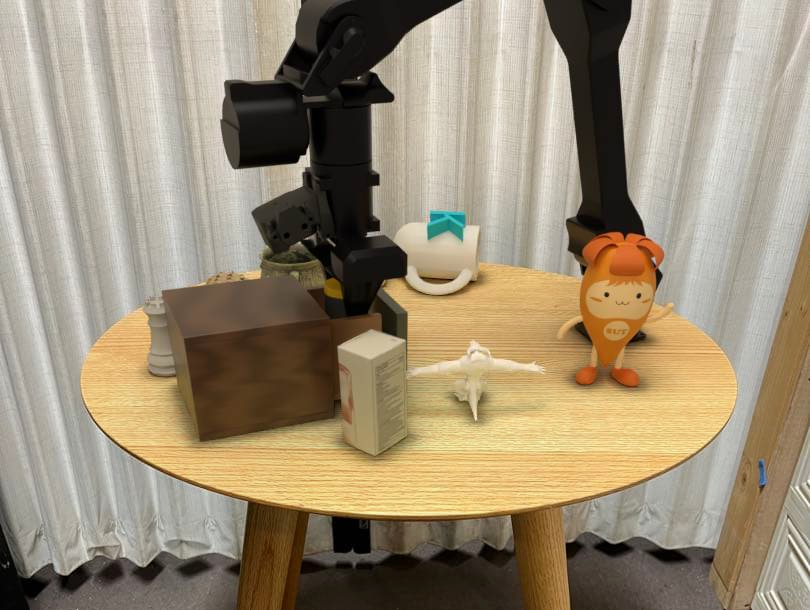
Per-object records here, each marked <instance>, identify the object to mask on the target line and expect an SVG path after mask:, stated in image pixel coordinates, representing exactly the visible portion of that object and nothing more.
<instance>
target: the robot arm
mask: <svg viewBox="0 0 810 610" xmlns="http://www.w3.org/2000/svg"><path fill="white" fill-rule="evenodd" d="M463 1H464V0H306V1H305V2H304V3H303V4H301V6H300V7H299V9H298V13H297V14H298V15H297V18H296V21H295V25H294V26H295V27H294V29H295V32H294V33H295V34H294V39H293V40H292V42H291V45H290V46H289V48H288V50H287V52H286V53H285V55H284V57H283V59H282V61H281V62H280V64H279V66H278V68H277V70H276V72H275V74H274V76H273V79H265V80H264V79H263V80H243V79H237V78H236V79H226V80H224V81H223V90H224V98H223V100H222V106H221V118H220V119H219V124H220V131H221V138H222V144H223V147H224V152H225V155H226V157H227V161H228V163H229V165H230V167H231V168H232V170H235V171H236V170H246V169H255V168H266V167H275V166H277V167H278V166H285V165H287V166H288V165H296V164H298V163H299V161H300V159H301V157H303V156H307V154H308V153H307V152H308V149H309V163H310V166H305V167H304V171H302V173H301V177H302V178H301V179H302V185H301V186H299V187H297V188H295V189H293V190H289V191H287V192H285V193H282V194H281V195H278V196H277V197H274V198H272V199H270V200H269V201H266V202H264V203H263V204H261V205H259V206H257V207H255V208H253V210H252V211H251V213H250V214H251V216H252V219H253V221H254V223H255V225H256V227H257V229H258V232H259V234H260V236H261V238H262V241H263V242H264V245H265V246H267V248H270V249H271V251H272V253H274V254H280V253H283V252H285V251H287V250H289V248H290V247H291V246H292V245H294V244H296V243H301V244H302V245H303V246H304V247H305V248H306V249H307V250H308V251H309V252H310V253H311V254H312V255H313V256H314V257H315V258H317V259H318V261H319V263H320V266H321V270H322V273H323V276H324V279H325V281H327V280H328V279H331V278H335V279H336V280H337V281H338V282H340V286H341V292H342V297H343V302H344V308H345V313H346V317H352V316H359V315H366V314H368V312H369V309H370V307H371V305H372V303H373V301H374V299H375V297H376V295H377V293H378V291H379V289H380V287H381V288H382V287H383V286H382V284H383V282H384V280H386V281H390V280H396V279H403V278H405V276H407V270H408V255H407V254H406V253H405V252H404V251H403V250H402V249H401V248H400V247H399V246H398V245H397V244H396V243H394V242H393V241H394V240H393V239H391V238H390V237H388V236H387V235H386V234H381V235H371V236H368V233H376V232H381V220H380V219H379V218H378V217H377V216H375V215H374V187H380V186H381V177H380V176H381V174H380V173H379V172H378V171H376V170H374V169H373V113H372V111H373V108H372V107H373V105H380V104H381V105H382V104H391V103H394V101H395V98H396V97H395V94H394V93H393V92H392V91H390V89H389V88H387V86H386V85H385V84H384V83H383V81H382V80H381V78H380V77H379V75H378V73H377V72H374V71H371V70H372V69H374V68H375V67H376V66H377V65H379V64H380V63H381V62H382V61H383V60H385V59H386V58H387V57H388V56H389V55H391V54H392V53H393V52H394V51H395V50H396V48H397V47H398V45H399V44H400V43H401V42H402V40H403V39H404V38H405V36H406V35H407V34H409V33H410V32H411V31H413V29H414V28H416V27H417V26H419V25H421V24H423V23H424V22H426V21H429V19H431V18H433V17H435V16H437V15H439V14H441V13H443V12H444V11H447V10H448V9H450V8H452V7H454V6H456V5H457V4H459V3H461V2H463ZM542 1H543V5H544V9H545V13H546V16H547V20H548V24H549V27H550V30H551V32H552V34H553V36H554V38H555V40H556V41H557V43H558V45H559V47H560V49H561V51H562V52H563V54H564V57H565V59H566V62H567V68H568V77H569V86H570V93H571V95H570V96H571V102H572V103H571V104H572V112H573V122H574V132H575V141H576V143H575V144H576V150H577V151H576V152H577V161H578V169H579V171H578V172H579V179H580V188H581V202H580V205H579V207H578V210H577V212H576V215H574V216H571V217H567V218H566V220H565V228H566V231H567V235H568V244H567V252H569V253H571V254H572V255H573V257H574V260H575V261H576V262H578V263H579V269H580V274H581V275H580V276H582V277H583V276H584V273H585V271H586V269H587V267H588V265H589V264H588V263H587V262H586V260H585V259H584V257H583V254H582V253H583V249H584V247H585V246H586V245H587V244H588V243H589V242H590V241H591V240H592V239H593V238H595V237H597V236H599V235H602V234H606V233H611V232H620V233H622V235H623V237H624V241H625V239H626V237H627V235H628V234H637V235H641V236H644V237H647V234H646V230H645V225H644V221H643V219H642V218H641V215H640V214H639V211H638V210H637V208H636V206H635V204H634V203H633V201H632V199H631V197H630V194H629V190H628V174H627V172H628V171H627V160H626V156H627V155H626V143H625V142H626V141H625V130H624V115H623V100H622V99H623V98H622V84H621V71H620V47H621V45H622V42H623V40H624V38H625V35H626V31H627V30H628V27H629V24H630V22H631V18H632V10H633V0H542ZM357 78H358V79H357ZM354 79H355V80H354ZM356 79H357V80H356ZM345 80H351V81H345ZM652 261H653V265H654V268H655V267H656V262H654V260H653V259H652ZM655 275H656V291H657V290H658V288H659V286H660V284H661V282H662V280H663V277H664V274H663V272H662V271H661V269H660V268H659V267H658V268H657V269H656V270H655ZM573 327H574V328H575V329H576V330H577V331H579V332H581V333H582V334H583V335H585V336H586V337H587V338H589V339H590V340H591V338H590V336H589V334H588V332H587V330H586V328H585V325H584V323H583V321H582V322H579V323H577V324H575V325H574V326H573ZM646 338H647V333H645V332H643V331H642V330H641V329H640V330H639V331H638V332H637V333H636V334H635V335H634V337H633V338H632V339H631V340H630V341H629V342H635V341H641V340H645V339H646Z"/></svg>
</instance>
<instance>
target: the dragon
mask: <svg viewBox="0 0 810 610" xmlns="http://www.w3.org/2000/svg"><path fill="white" fill-rule="evenodd" d="M408 366H409V368H410V369H407V371H406V373H407V374H406V376H407V377H406V380H407V381H408V380H409V379H411V378H418V377H422V376H433V375H434V376H436V375H439V376H446V375H452V374H459V373H463V374H464V378H461V379H458V380H456V381H455V382H454V383H453V384H452V388H453V389H454V390H455V391H456V392H454V396H456V397H457V398H458V401H459V402H463V401H466V402H468V404H469V406H470V408H471V411H472V414H473V418H474V420H475V421H478V402H479V401H481V395H482V393H483V392H484V389H486V388H487V385H488V382H487V381H486V380H485V379H483V378H482V375H484V374H487V373H488V372H490V373H491V372H493V373H506V374H507V373H517V372H518V373H519V372H525V373H531V374H539V375H542V376H545V377H546V376H547V374H546V373H547V372H548V370H546V367H545V366H543V365H538V364H537V361H532V362H531V363H521V362H517V361H513V360H509V359H504V358H494V357H493V356H491V351H490V350H489V348H487V347H484V346H481V345H480V343H479V342H477V341H475V340H473V339H472V340H471V341H470V342H469V347H468V348H467V349H466V354H464V355H463V356H461V357H460V358H459V359H453V360H445V361H441V362H438V363H437V362H436V363H433V364H431V365H427V366H423V367H419V366H418V367H415V365H408Z"/></svg>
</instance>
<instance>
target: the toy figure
mask: <svg viewBox="0 0 810 610" xmlns="http://www.w3.org/2000/svg"><path fill="white" fill-rule="evenodd" d="M582 254H583V257H584V259H585V260H586V262H587V263H588V264H589V265H588V267H587V269H586V271H585V273H584V276H583V275H582V280H581V284H580V289H579V310H580V314H579V315H575V316H573V317H571V318H570V319H568V320H567V321H565V323H563V324H562V326H561V327H560V328H559V329H558V330H557V333H556V336H555V338H556V340H557V341H563V340H564V338H565V335H566V333H568V332H569V330H570V329H571V328H573V327H574V326H575V324H577V323H579V322H582V321H583V323H584V325H585V328H586V330H587V332H588V334H589V336H590V338H591V339H590V338H589V339H590V341H591V342H592V348H591V353H590V358H589V362H588V365H587V366H585V367H583V368H581V369H579V371H578V372H577V373H576V375H575V382H576V383H577V384H579V385H584V386H585V385H591V384H592V383H594V382H595V380H596V377H597V375H598V360H599V362H600V364H601V366H602V368H607V367H609V366H610V365H611V364H612V363H613V361H614V360H615V361H614V365H613V367H612V369H611V371H610V376H611V377H612V378H613V379H614V380H616V381H617V382H618V383H620V384H621V385H624V386H625V387H636V386H638V385H639V383H640V376H639V374H638V373H637V372H636V371H635V370H634V369H632V368H629V367H628V368H627V367H624V368H623V363H624V355H625V351H626V350H625V349H626V345H628V343H629V342H631V341H630V340H631V339H632V338H633V337H634V335H635V334H636V333H637V332H638V331H639V330H640V331H641V328H642V327H643V326H644V324H652V323H655V322H657V321H660V320H663V319H664V318H665V317H667V316H668V315H669V314H671V312H672V311H673V310H674V308H675V304H674V303H673V302H668V303H667V304H666V305H665V306H664V307H663V308H662V309H660V310H659V311H658V312H656V313H653V314H651V315H650V312H651V310H652V307H653V306H654V305H653V304H654V301H655V296H656V292H657V290H656V275H655V270H656V269H657V268H659V267H660V266H661V264H662V263H663V261H664V259H665V251H664V250H663V248H662V246H660V245H659V244H658V243H656V242H654V241H653V240H652V239H651V238H649V237H647V236H646V237H644V236H641V235H637V234H628V235H627V237H626V239H625V241H624V237H623V235H622V233H620V232H611V233H606V234H602V235H599V236H597V237H595V238H593V239H592V240H591V241H590V242H589V243H588V244H587V245H586V246H585V247H584V249H583V253H582ZM653 258H654V259H655V264H656V267H655V268H654V265H653V261H654V260H653ZM652 260H653V261H652Z"/></svg>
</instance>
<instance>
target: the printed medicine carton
mask: <svg viewBox="0 0 810 610" xmlns="http://www.w3.org/2000/svg"><path fill="white" fill-rule="evenodd" d="M338 361H339V377H340V392H341V399H340V404H341V417H342V418H341V420H342V433H343V434H342V435H343V436H342V437H343V442H344V443H345V444H347V445H349V446H350V447H353V448H355V449H358V450H360V451H362V452H365V453H366V454H368V455H371V456H373V457H377V456H378V455H380V454H381V453H383V452H384V451H386V450H387V449H389V448H390V447H393V446H394V445H395V444H397V443H398V442H400V441H401V440H403V439H404V438H406V437H407V436H408V409H407V408H408V404H407V403H408V402H407V401H408V399H407V398H408V397H407V394H408V391H407V392H406V340H404V339H401V338H398V337H394V336H392V335H389V334H386V333H383V332H379V331H376V330H369V331H367V332H365V333H363V334H361V335H359V336H357V337H355V338H353V339H351V340H349V341H347V342H345V343H343V344H341V345H339V346H338Z"/></svg>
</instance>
